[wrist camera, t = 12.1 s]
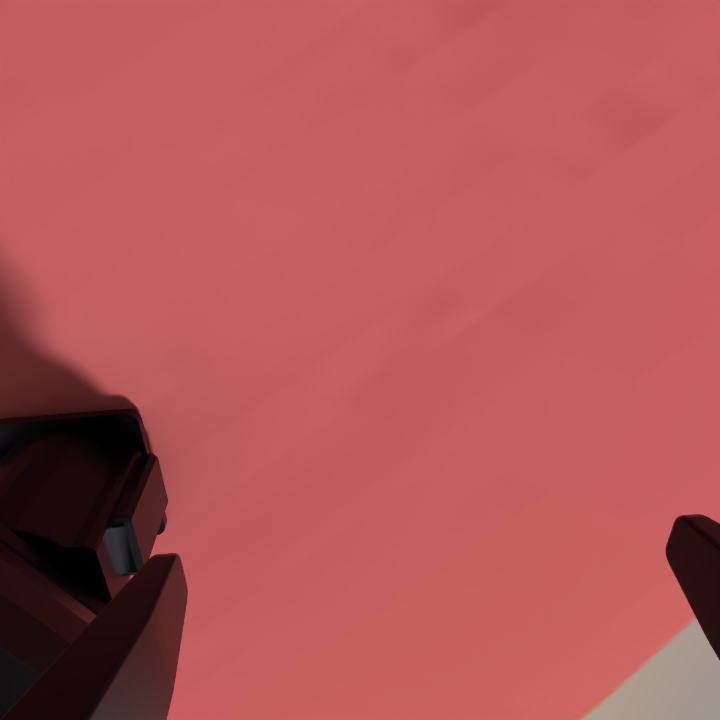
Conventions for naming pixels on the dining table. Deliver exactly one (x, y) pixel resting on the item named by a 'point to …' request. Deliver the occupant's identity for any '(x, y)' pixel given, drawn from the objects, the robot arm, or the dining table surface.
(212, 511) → the dining table surface
